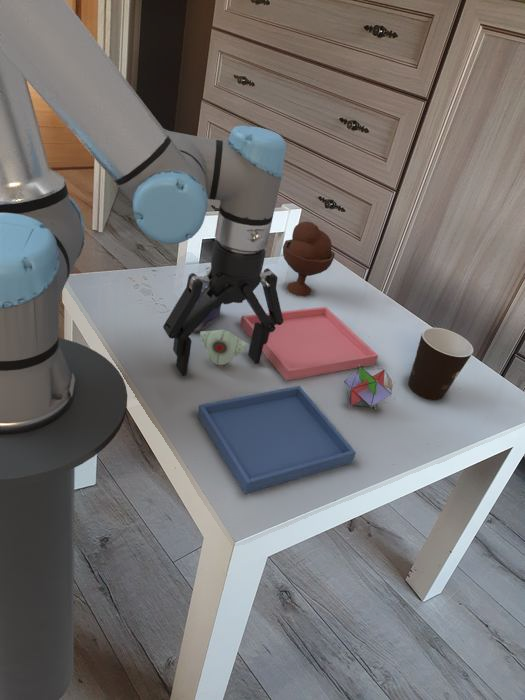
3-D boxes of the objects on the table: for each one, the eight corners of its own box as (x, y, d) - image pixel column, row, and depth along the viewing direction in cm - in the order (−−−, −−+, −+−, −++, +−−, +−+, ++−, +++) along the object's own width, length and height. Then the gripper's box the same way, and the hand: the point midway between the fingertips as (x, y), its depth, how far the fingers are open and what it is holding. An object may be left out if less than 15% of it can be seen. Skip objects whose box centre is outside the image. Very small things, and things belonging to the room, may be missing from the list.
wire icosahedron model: (355, 413, 83) (391, 374, 82) (327, 386, 87) (361, 348, 86) (373, 425, 88) (407, 388, 87) (347, 399, 92) (379, 364, 91)
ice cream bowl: (288, 304, 112) (305, 236, 104) (266, 278, 120) (280, 213, 112) (332, 302, 116) (351, 236, 108) (307, 276, 124) (324, 214, 116)
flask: (196, 334, 96) (204, 280, 90) (182, 328, 97) (189, 274, 91) (222, 315, 103) (231, 263, 97) (209, 309, 104) (217, 258, 98)
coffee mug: (427, 409, 91) (450, 361, 85) (392, 378, 96) (411, 331, 91) (471, 395, 97) (495, 349, 92) (435, 367, 103) (456, 322, 97)
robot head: (244, 364, 91) (251, 330, 88) (239, 378, 88) (246, 343, 84) (197, 352, 91) (203, 318, 88) (191, 366, 88) (196, 331, 84)
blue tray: (244, 493, 68) (247, 483, 67) (197, 415, 79) (199, 404, 78) (352, 462, 77) (356, 452, 76) (296, 395, 87) (299, 385, 86)
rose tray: (286, 380, 90) (288, 371, 89) (240, 324, 101) (241, 315, 100) (375, 364, 99) (378, 355, 98) (323, 315, 111) (326, 306, 110)
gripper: (168, 259, 69) (154, 390, 81) (324, 252, 81) (292, 367, 93) (148, 234, 74) (138, 361, 86) (298, 231, 86) (271, 342, 98)
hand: (218, 364), depth 90 cm, fingers open, 12 cm apart
